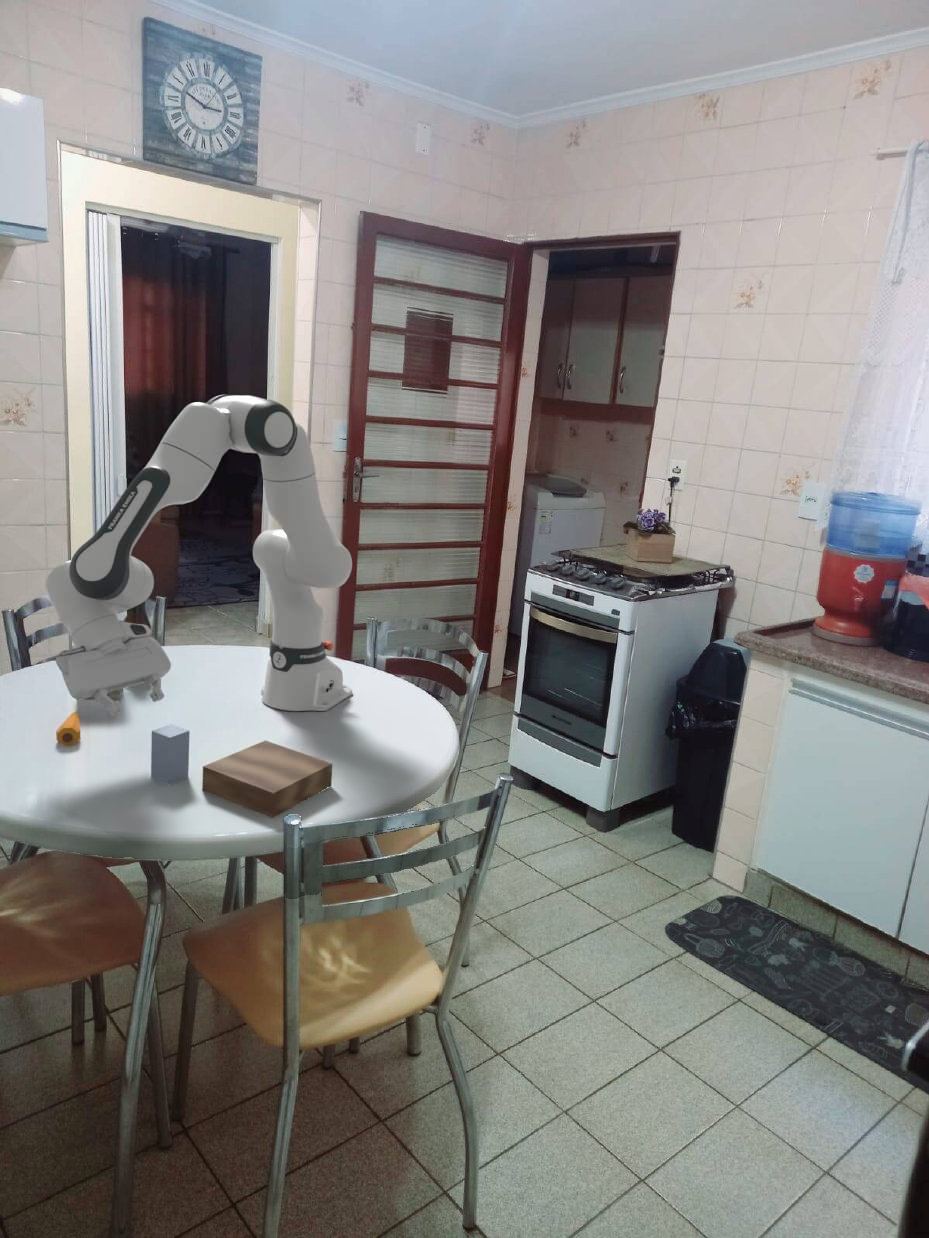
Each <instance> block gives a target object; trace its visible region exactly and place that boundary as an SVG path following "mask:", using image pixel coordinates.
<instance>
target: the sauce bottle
mask: <svg viewBox="0 0 929 1238" xmlns="http://www.w3.org/2000/svg"><path fill="white" fill-rule="evenodd" d="M123 621H124V622H128V623H134V624H142V625H147V626H148V627H149V629H150V631H151V632H152V626H151V625H152V624H151V622H150V620H149V617H148V613H147V611H146V601H145V602H144V603H142V604H140V605H138V606H136V607H134V608H132V609H129V610H127V615H126V616H125V617H124V619H123ZM148 637H152V633H151V634H150V635H149V636H148Z"/></svg>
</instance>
